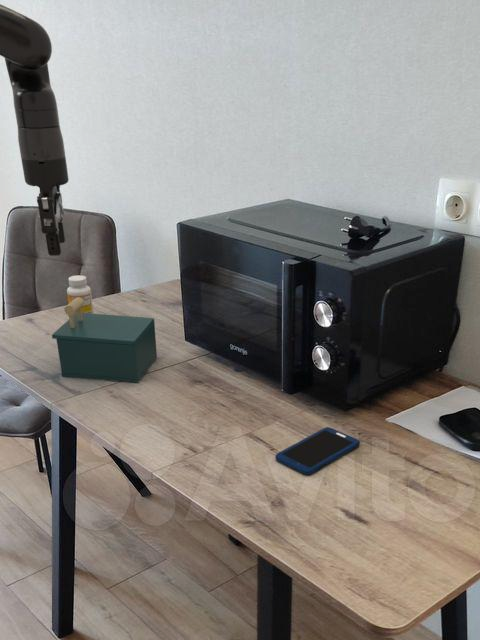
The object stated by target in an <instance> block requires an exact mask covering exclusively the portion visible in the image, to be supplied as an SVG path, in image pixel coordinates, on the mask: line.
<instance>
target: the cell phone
mask: <svg viewBox="0 0 480 640" xmlns="http://www.w3.org/2000/svg"><path fill="white" fill-rule="evenodd" d="M360 442H361V441H360V440H359V439H357V438H355V437H354V436H351V435H348V434H346V433H344V432H341V431H340V430H337V429H335V428H333V427H330V426H325V427H324V428H322V429H320V430H318V431H315V432H314V433H313V434H311V435H309V436H307V437H305V438H303V439H301V440H299V441H297V442H296V443H294V444H292V445H290V446H288V447H287V448H285V449H283V450H281V451H279V452H277V453H276V454H275V455H274V456H275V460H276V461H278V462H280V463H281V464H284V465H285V466H288V467H289V468H291V469H293V470H295V471H297V472H300V473H301V474H304V475H313V473H316V472H318V471H319V470H321V469H322V468H323V467H326V466H327V465H329V464H330V463H332V462H334V461H335V460H338V459H339V458H341V457H343V456H344V455H345V454H347V453H349V452H351V451H352V450H354V449H356V448H357V447H358V446H360V445H361V443H360Z"/></svg>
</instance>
